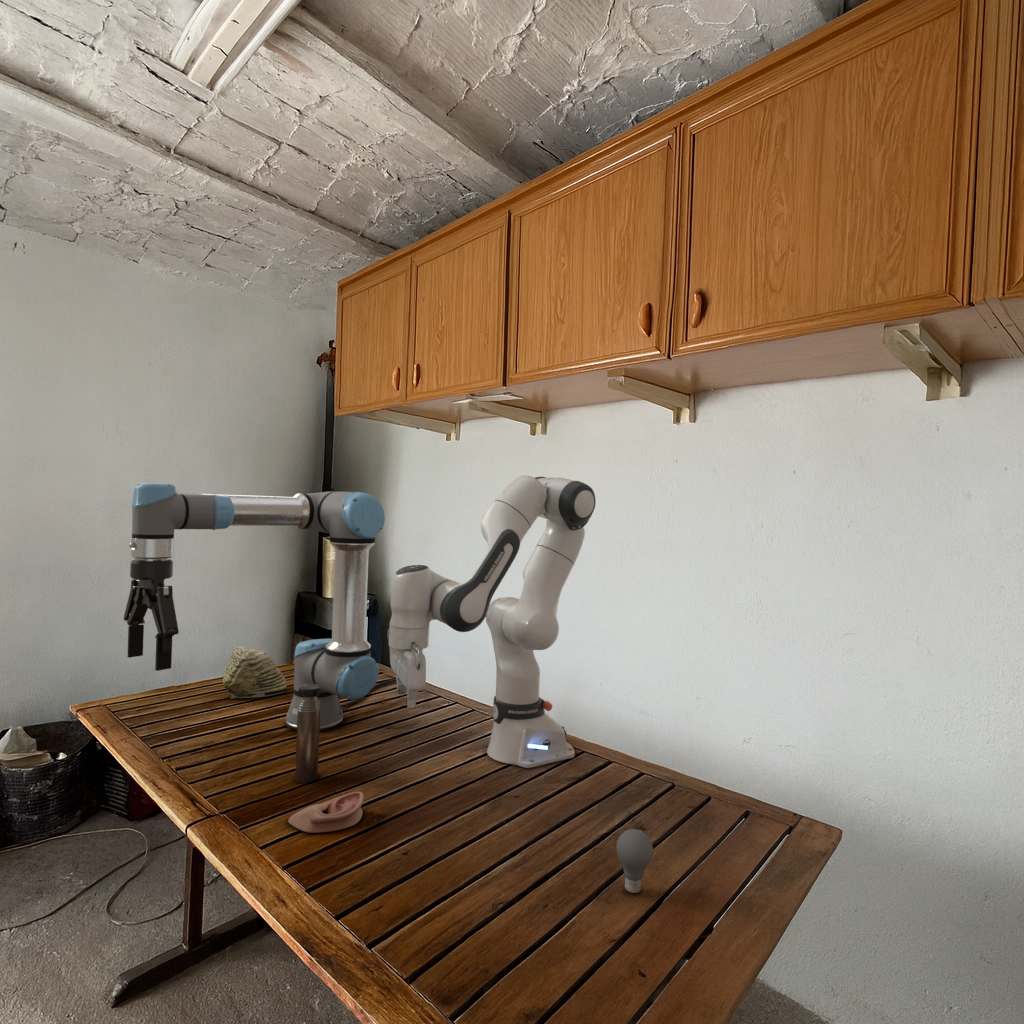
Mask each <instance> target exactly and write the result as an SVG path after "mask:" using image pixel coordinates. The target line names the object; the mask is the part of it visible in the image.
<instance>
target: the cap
mask: <svg viewBox="0 0 1024 1024" xmlns="http://www.w3.org/2000/svg"><path fill="white" fill-rule="evenodd" d="M320 687H321V686H320V685H319V684H304V685H301V686H300V687H299V696H301V697H307V698H310V697H316V696H319V695H320V693H321V688H320Z"/></svg>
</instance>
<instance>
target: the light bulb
mask: <svg viewBox="0 0 1024 1024" xmlns="http://www.w3.org/2000/svg"><path fill="white" fill-rule="evenodd" d="M615 849H616V854H617V857H618V859H619V861H620V863H621V865H622V867H623V873H624V874H623V875H624V876H625V878H624V888H625V890H627V891H628V892H630V893H634V894H635V893H639V892H640V891H641V889H642V887H641V886H642V879H643V877H644V875H645V871H646V868H647V867H648V866H649V864H650V863H651V861H652V859H653V855H654V847H653V843H652V841H651V838H649V836H648V835H647V834H646V833H645V832H643V831H642V830H641V829H636V828H629V829H627V830H625V831H623V832H622V833H621V834H620V835H619V837H618V839H617V841H616V847H615Z"/></svg>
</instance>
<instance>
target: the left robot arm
mask: <svg viewBox="0 0 1024 1024" xmlns="http://www.w3.org/2000/svg"><path fill="white" fill-rule="evenodd" d="M385 515H386V513H385V511H384V508H383V505H382V503H381V502H380V501H379V500H378V498H377V497H375V495H373V494H370V493H367V492H363V491H362V492H361V491H337V490H336V491H335V490H333V491H332V490H330V491H321V492H311V493H295V494H294V495H293V496H276V495H275V496H274V495H273V496H272V495H248V494H247V495H246V494H244V495H243V494H220V493H219V494H218V493H217V494H216V493H215V494H214V493H189V492H187V493H186V492H177V491H176V486H175V485H174V484H173V483H152V482H139V483H137V484H136V485H135V486H134V488H133V492H132V501H131V520H132V521H131V542H130V543H128V547H129V548H130V549H131V550H130V556H131V558H133V559H132V560H131V561H130V567H129V568H130V571H129V574H130V575H129V576H130V578H131V581H130V590H129V594H128V598H127V603H126V607H125V610H124V615H123V621H124V622H126V624H127V626H128V629H127V630H128V631H127V658H135V657H142V656H144V635H145V634H144V630H145V625H144V624H145V623H146V621H145V619H144V618H145V616H146V615H147V612H148V609H149V610H151V613H152V618H153V620H154V624H155V627H156V631H157V633H156V635H155V636H154V638H155V661H154V663H155V665H154V668H155V669H154V670H155V671H157V672H159V671H164V670H169V669H172V659H173V657H172V655H173V637H175V636H176V635H179V632H180V631H179V625H178V619H177V615H176V614H177V613H176V609H175V603H174V597H173V595H174V593H173V585H165V580H167V579H171V578H172V577H173V575H174V573H173V572H174V561H173V560H172V559H171V558H173V557H174V554H175V553H174V552H175V530H213V531H215V530H224V529H228V528H230V526H233V527H234V526H237V527H238V526H240V527H243V526H246V527H247V526H249V527H250V526H258V527H259V526H268V527H269V526H276V527H277V526H282V527H284V526H285V527H286V526H287V527H288V526H289V527H290V526H291V527H293V528H294V529H296V530H308V531H309V530H310V531H316V532H319V533H325V534H329V544H330V545H331V546H332V547H333V548H334V550H335V551H334V572H333V573H334V577H333V599H332V625H331V626H332V627H331V638H317V639H308V640H304V641H300V642H299V643H297V645H296V646H295V650H294V655H293V657H294V672H293V673H294V674H293V695H292V696H293V697H292V699H291V702H290V704H289V708H288V711H287V713H286V715H285V726H286V728H287V729H289V730H291V731H294V732H295V731H296V732H297V715H298V706H299V703H300V701H301V699H302V697H301V696H299V687H300V686H301V685H304V684H319V685H320V686H321V687H320V688H321V693H320V695H319V696H317V698H318V700H319V703H320V732H325V731H329V730H332V729H335V728H337V727H339V726H340V725H342V723H343V722H344V714H343V709H344V708H346V707H349V706H351V705H354V704H356V703H358V702H359V701H362V700H363V699H365V698H366V696H367V695H368V694H370V692H371V691H372V690H374V689H376V688H379V687H382V686H384V685H388V684H392V683H397V680H396V678H395V679H389V680H386V681H382V682H379V683H377V682H378V678H379V674H380V672H379V671H380V670H379V669H380V668H379V665H378V663H377V662H376V660H375V659H374V657H371V652H372V649H371V648H372V644H371V643H370V642H368V640H367V639H366V631H367V607H368V606H367V605H368V604H367V602H368V582H369V581H368V579H369V555H370V553H369V552H370V550H371V548H372V547H374V545H375V544H376V536H378V535H379V534H380V533H381V530H383V528H384V526H385V522H386V521H385V520H386V516H385ZM339 698H341V699H342V700H343V699H344V700H348V701H349V700H350V701H349V702H346V703H342V704H341V702H340V699H339ZM342 708H343V709H342Z"/></svg>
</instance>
